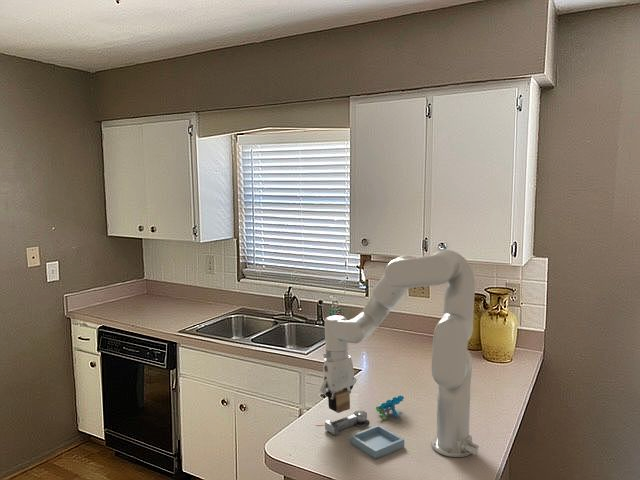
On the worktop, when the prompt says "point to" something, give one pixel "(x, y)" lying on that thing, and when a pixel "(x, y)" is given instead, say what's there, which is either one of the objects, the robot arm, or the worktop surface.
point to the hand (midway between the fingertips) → (339, 406)
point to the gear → (389, 404)
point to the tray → (377, 441)
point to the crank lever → (346, 422)
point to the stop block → (342, 400)
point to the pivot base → (354, 425)
